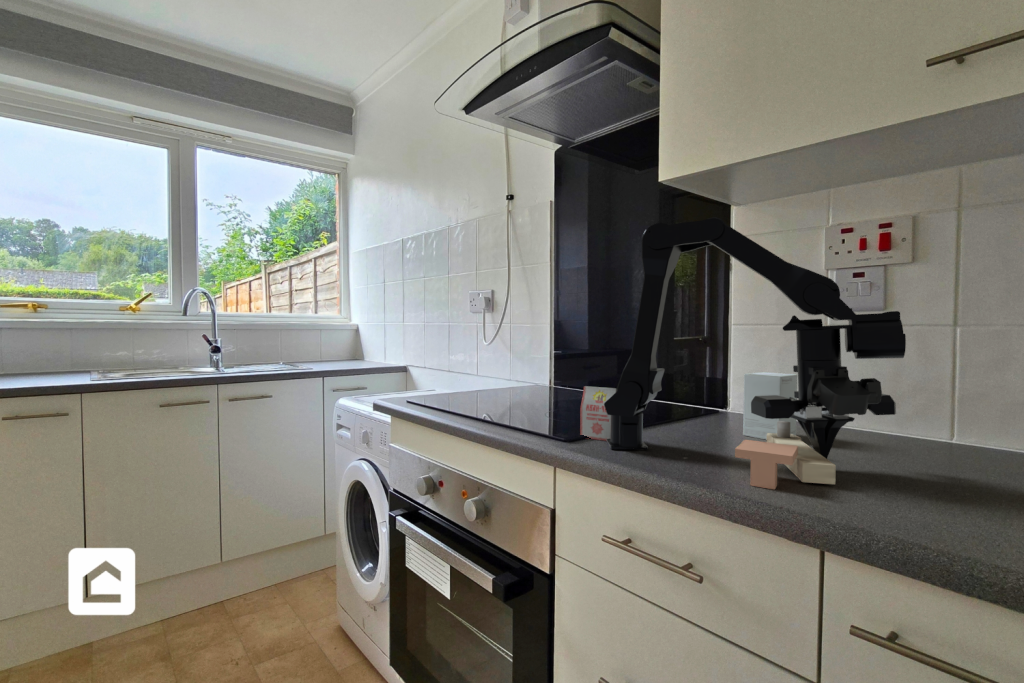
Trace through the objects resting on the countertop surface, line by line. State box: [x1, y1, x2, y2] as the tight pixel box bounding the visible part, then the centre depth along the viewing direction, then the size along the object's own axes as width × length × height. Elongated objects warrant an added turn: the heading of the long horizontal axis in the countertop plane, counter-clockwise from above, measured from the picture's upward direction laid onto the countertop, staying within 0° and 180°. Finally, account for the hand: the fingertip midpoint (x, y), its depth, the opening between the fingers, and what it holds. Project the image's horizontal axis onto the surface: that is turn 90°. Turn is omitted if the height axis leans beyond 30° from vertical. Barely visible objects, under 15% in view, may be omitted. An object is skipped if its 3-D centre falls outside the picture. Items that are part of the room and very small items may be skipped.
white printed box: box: [579, 385, 617, 442], centre depth 98 cm, size 4×7×10 cm, turn 57°
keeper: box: [734, 439, 798, 490], centre depth 70 cm, size 7×7×5 cm
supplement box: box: [742, 371, 798, 441], centre depth 99 cm, size 7×7×13 cm
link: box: [766, 421, 837, 485], centre depth 78 cm, size 21×5×5 cm, turn 165°
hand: (822, 461), depth 76 cm, fingers closed
